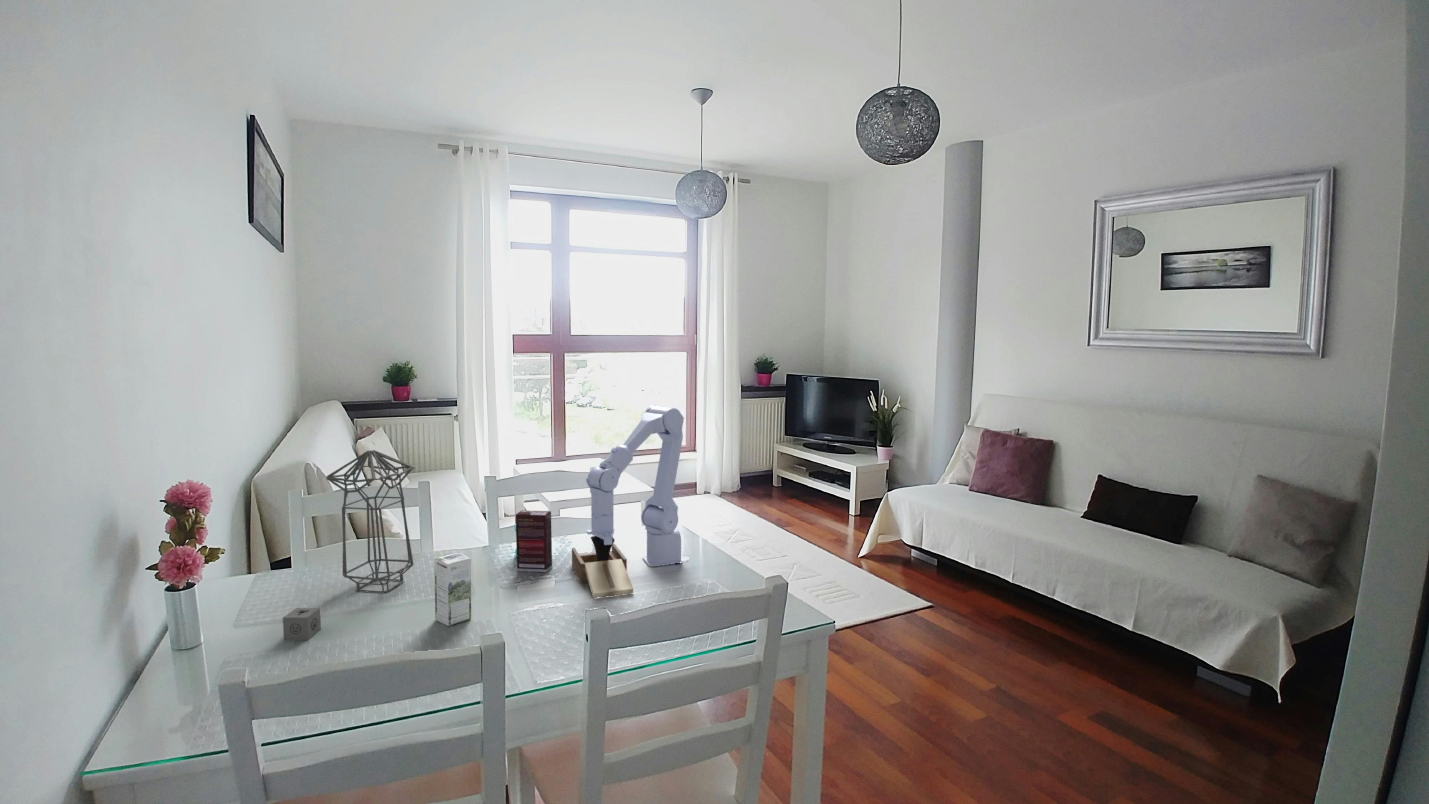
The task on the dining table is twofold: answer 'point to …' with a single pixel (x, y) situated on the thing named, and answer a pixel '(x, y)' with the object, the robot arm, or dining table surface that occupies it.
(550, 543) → the supplement box
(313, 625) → the dice cube
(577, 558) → the box
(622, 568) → the lid
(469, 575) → the syrup box
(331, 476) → the geometric lantern
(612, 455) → the robot arm
